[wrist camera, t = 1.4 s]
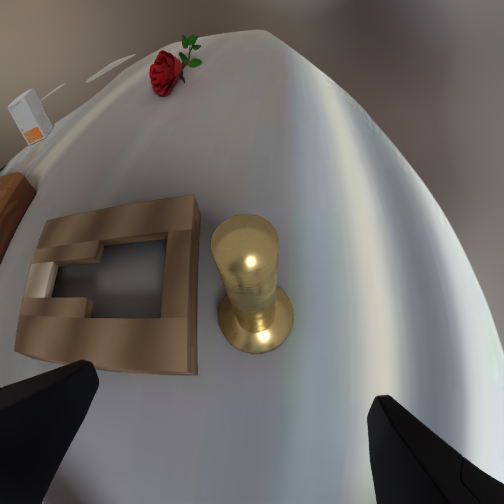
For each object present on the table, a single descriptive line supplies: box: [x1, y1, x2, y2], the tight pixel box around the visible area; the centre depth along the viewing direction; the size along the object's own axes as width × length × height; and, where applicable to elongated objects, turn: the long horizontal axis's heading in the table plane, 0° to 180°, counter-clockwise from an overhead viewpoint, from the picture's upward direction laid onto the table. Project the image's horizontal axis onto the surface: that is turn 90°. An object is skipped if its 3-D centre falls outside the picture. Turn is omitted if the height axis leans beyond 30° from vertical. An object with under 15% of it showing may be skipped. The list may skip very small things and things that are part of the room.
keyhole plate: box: [14, 195, 201, 375], centre depth 21 cm, size 18×15×3 cm
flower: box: [149, 35, 202, 96], centre depth 45 cm, size 9×10×30 cm
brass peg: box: [211, 214, 294, 354], centre depth 16 cm, size 6×6×11 cm
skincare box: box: [8, 88, 53, 145], centre depth 37 cm, size 6×4×12 cm
